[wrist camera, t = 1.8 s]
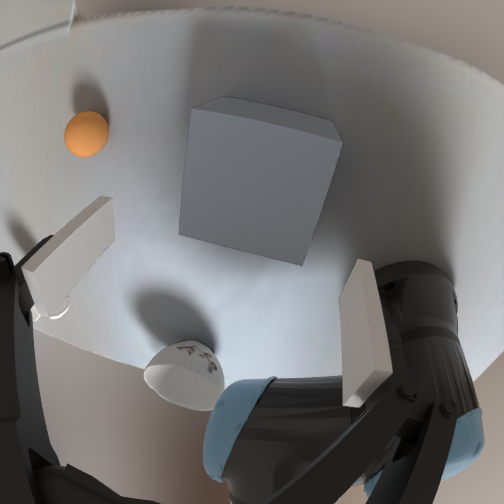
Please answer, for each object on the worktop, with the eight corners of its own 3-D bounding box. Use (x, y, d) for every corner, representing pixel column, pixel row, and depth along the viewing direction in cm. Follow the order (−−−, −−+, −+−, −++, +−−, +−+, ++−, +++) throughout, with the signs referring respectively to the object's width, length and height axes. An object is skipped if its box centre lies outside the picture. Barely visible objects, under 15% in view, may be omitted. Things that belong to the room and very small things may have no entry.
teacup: (182, 312, 43) (162, 355, 36) (250, 355, 46) (240, 399, 39) (144, 350, 51) (127, 385, 44) (201, 384, 54) (189, 419, 47)
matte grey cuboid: (332, 121, 26) (342, 142, 18) (304, 215, 32) (302, 266, 24) (224, 96, 26) (191, 108, 19) (209, 191, 32) (178, 234, 25)
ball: (118, 108, 28) (90, 118, 24) (116, 151, 31) (90, 166, 27) (83, 106, 28) (54, 116, 24) (83, 146, 31) (56, 160, 27)
